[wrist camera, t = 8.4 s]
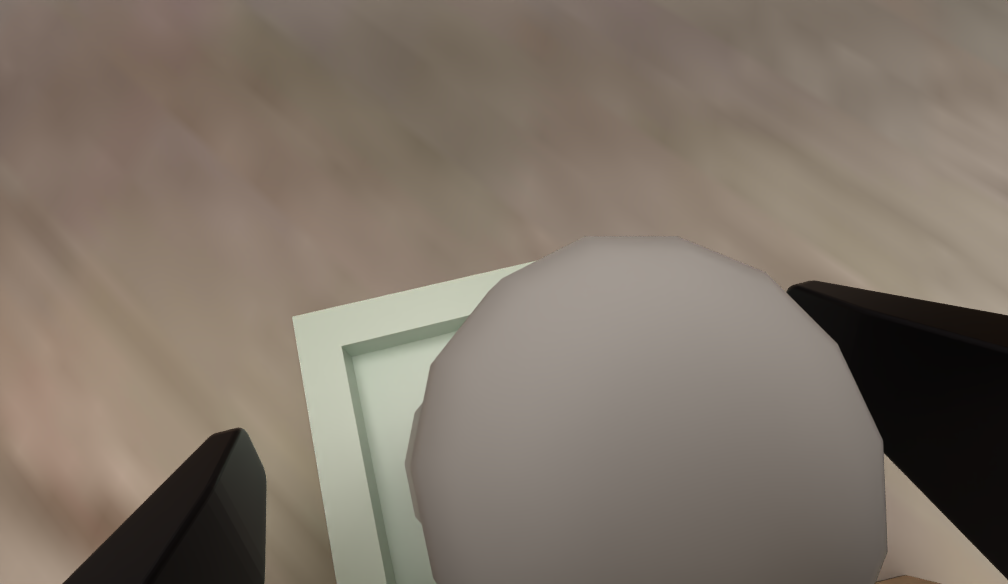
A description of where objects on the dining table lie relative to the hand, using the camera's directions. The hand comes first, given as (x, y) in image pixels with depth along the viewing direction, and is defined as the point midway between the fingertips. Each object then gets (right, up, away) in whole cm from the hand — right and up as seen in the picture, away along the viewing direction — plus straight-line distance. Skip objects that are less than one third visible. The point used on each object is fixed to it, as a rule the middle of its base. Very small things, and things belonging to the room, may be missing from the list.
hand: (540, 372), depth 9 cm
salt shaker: (-1, -4, +8) cm, 9 cm away
